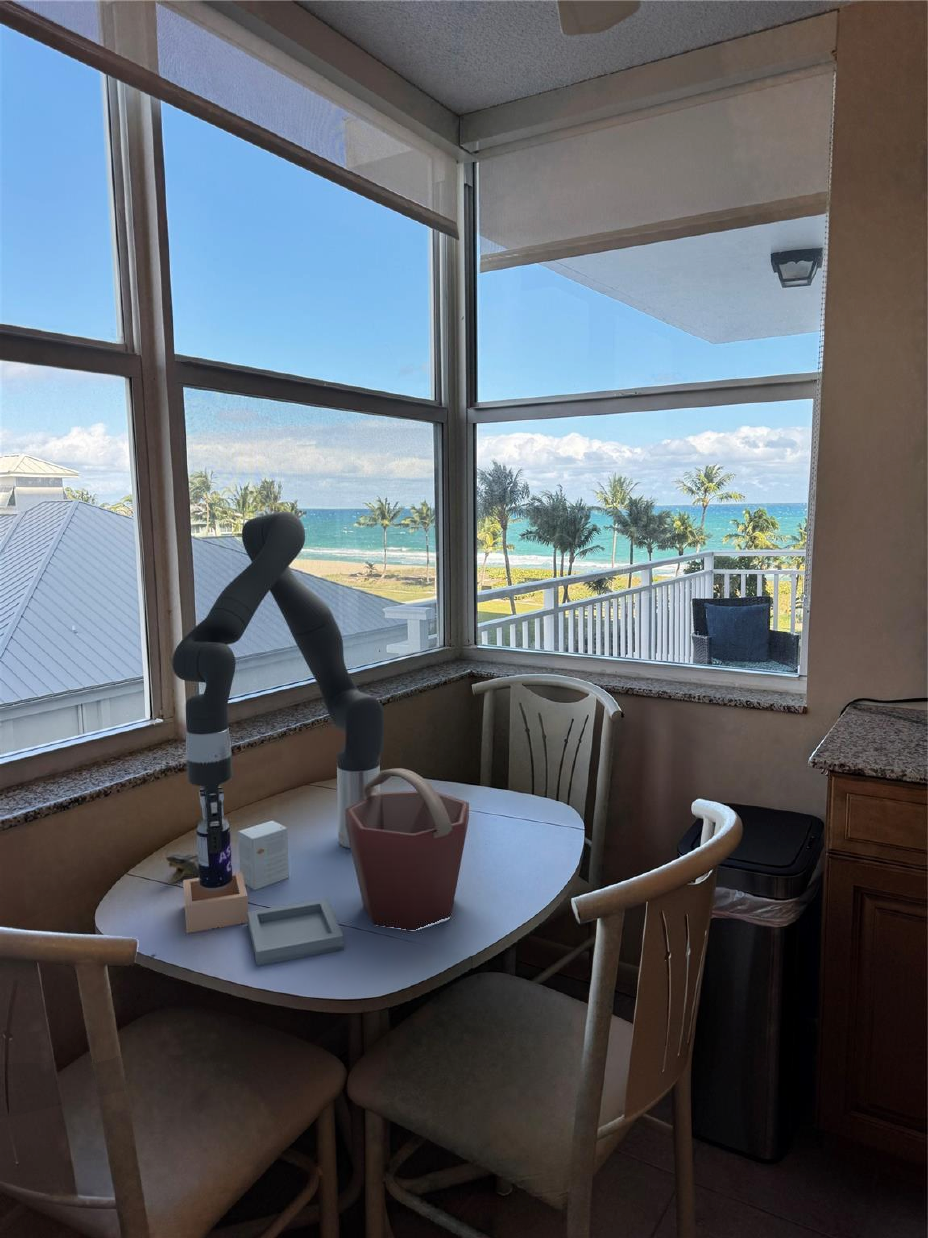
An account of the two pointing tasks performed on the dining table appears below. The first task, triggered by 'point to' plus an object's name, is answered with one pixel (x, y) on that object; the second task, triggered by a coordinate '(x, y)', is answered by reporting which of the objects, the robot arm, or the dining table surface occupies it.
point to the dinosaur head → (183, 866)
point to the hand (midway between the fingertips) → (214, 845)
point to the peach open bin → (215, 904)
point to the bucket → (407, 851)
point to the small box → (263, 854)
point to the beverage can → (214, 858)
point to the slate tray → (294, 931)
